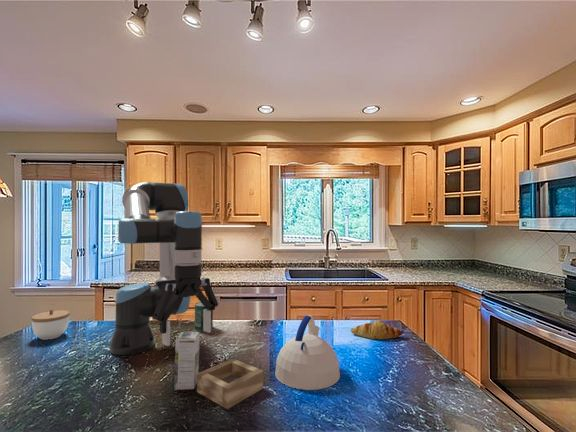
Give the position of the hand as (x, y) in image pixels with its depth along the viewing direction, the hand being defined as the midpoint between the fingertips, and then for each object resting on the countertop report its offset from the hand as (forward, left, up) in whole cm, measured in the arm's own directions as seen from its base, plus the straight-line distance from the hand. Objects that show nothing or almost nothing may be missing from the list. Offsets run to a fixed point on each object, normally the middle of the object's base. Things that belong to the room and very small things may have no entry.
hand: (187, 337), depth 92 cm
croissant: (+26, +74, -14) cm, 79 cm away
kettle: (+23, +28, -14) cm, 39 cm away
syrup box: (0, 0, -14) cm, 14 cm away
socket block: (+12, +6, -14) cm, 19 cm away
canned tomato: (-37, +33, -14) cm, 52 cm away
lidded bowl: (-77, -13, -14) cm, 80 cm away
